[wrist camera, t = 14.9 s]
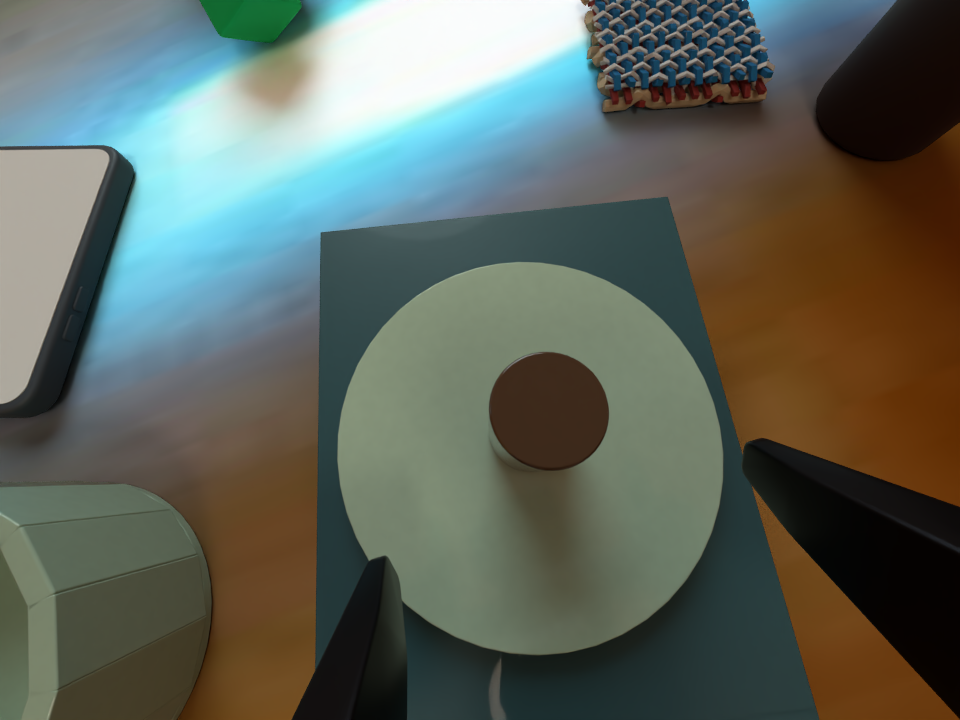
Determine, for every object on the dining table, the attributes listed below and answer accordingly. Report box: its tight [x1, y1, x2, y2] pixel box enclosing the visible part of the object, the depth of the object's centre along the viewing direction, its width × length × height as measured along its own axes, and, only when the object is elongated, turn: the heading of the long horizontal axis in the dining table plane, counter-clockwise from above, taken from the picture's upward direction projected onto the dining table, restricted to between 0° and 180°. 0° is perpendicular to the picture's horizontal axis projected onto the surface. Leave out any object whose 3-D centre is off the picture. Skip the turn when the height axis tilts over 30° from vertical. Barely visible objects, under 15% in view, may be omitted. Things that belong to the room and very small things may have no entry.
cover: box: [337, 262, 723, 655], centre depth 12 cm, size 14×14×6 cm
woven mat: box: [581, 0, 775, 112], centre depth 25 cm, size 10×11×2 cm
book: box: [315, 197, 819, 720], centre depth 17 cm, size 20×16×4 cm
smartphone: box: [0, 145, 134, 418], centre depth 21 cm, size 9×2×16 cm
